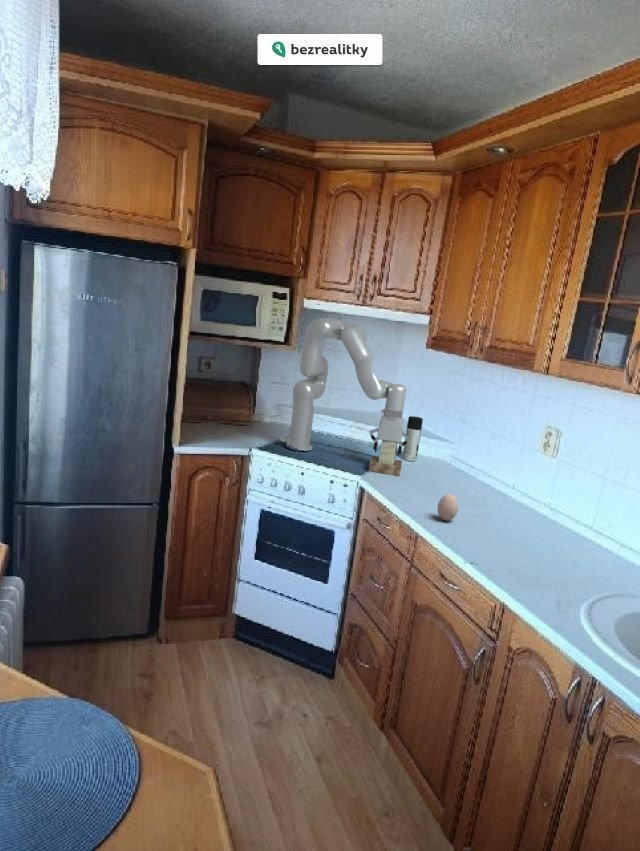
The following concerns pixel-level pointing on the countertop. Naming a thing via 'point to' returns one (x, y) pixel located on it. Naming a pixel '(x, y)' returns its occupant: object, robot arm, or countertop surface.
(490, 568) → the countertop surface
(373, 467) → the socket block
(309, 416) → the robot arm
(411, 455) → the spray can
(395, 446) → the skincare box
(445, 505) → the egg
